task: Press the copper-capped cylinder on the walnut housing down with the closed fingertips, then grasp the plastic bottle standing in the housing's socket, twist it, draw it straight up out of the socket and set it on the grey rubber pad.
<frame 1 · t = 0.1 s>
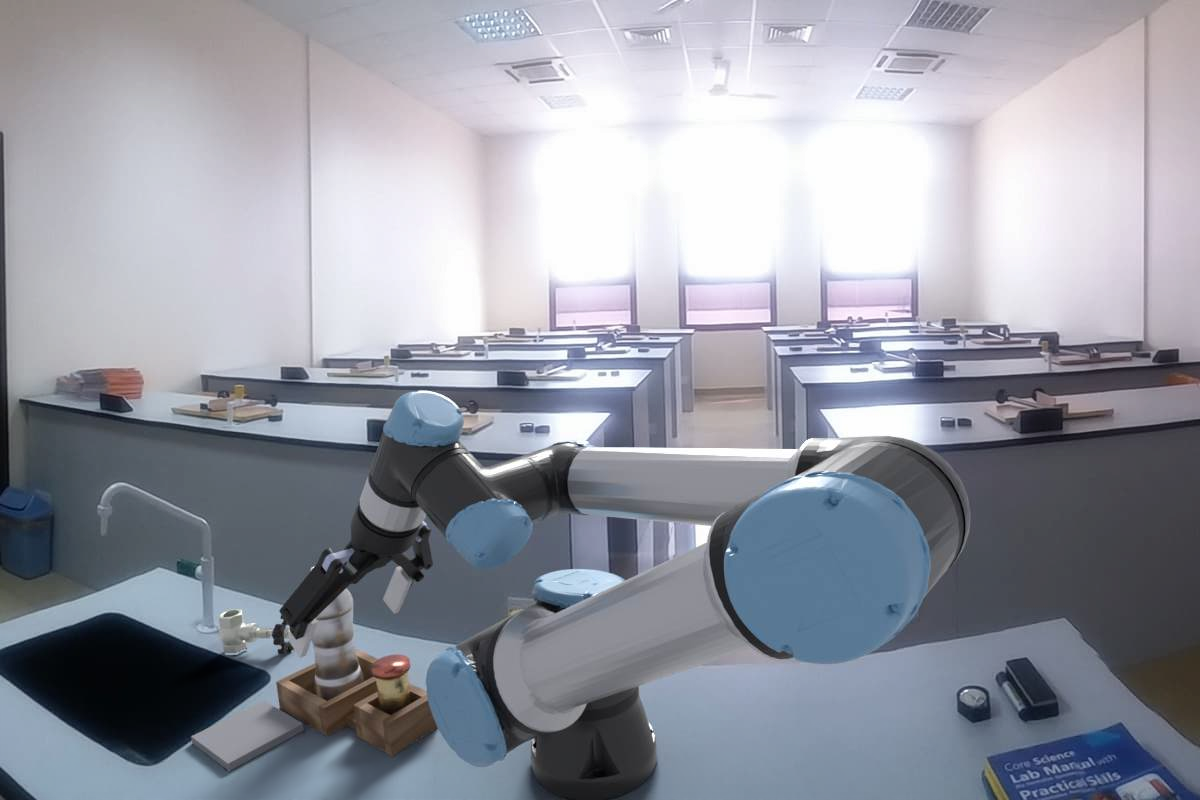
hand: (346, 625, 98), 15 cm above the countertop, tool tilted 35°, fingers open, 13 cm apart
copper-capped cylinder: (393, 687, 100), point 6 cm above the countertop, slide at 0.0 cm
pad: (248, 736, 101), on the countertop
housing: (341, 701, 109), on the countertop
valve: (258, 652, 125), on the countertop
plastic bottle: (341, 702, 109), resting in housing
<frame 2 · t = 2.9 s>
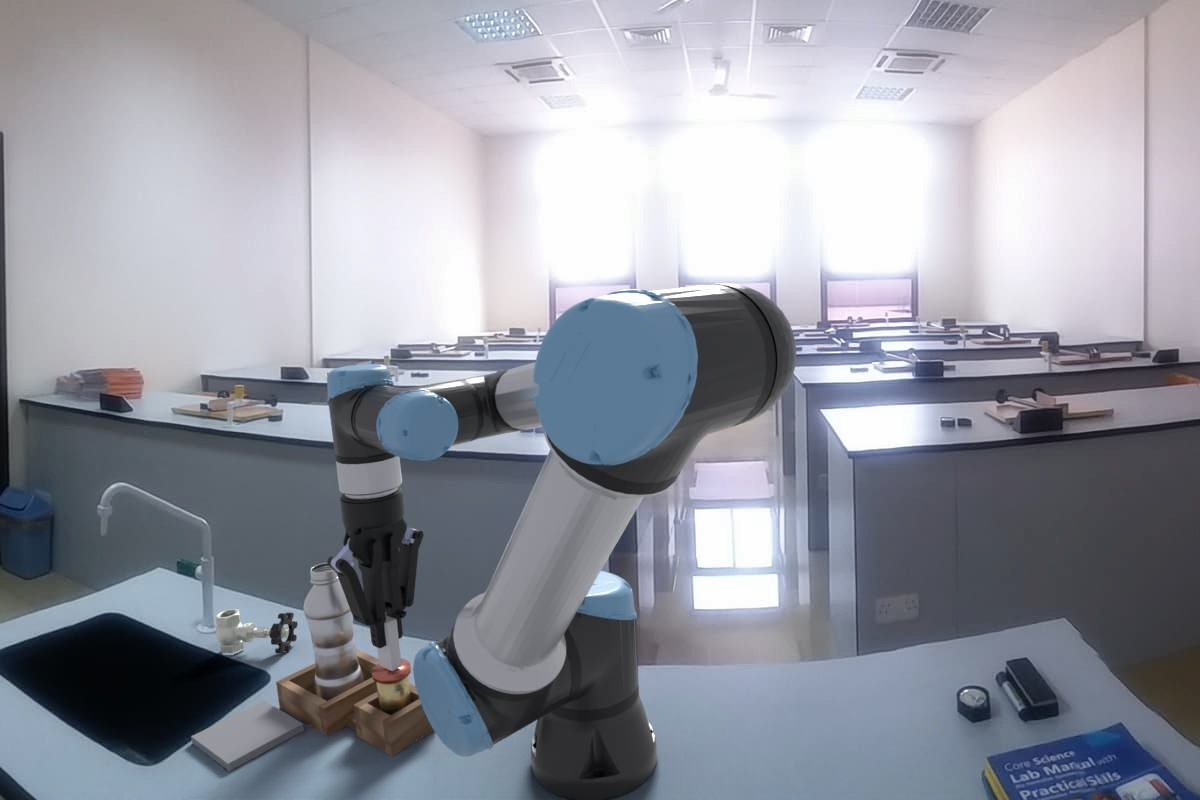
hand: (390, 665, 99), 9 cm above the countertop, tool pointing down, fingers closed
copper-capped cylinder: (393, 691, 100), point 6 cm above the countertop, slide at 0.6 cm, touching gripper
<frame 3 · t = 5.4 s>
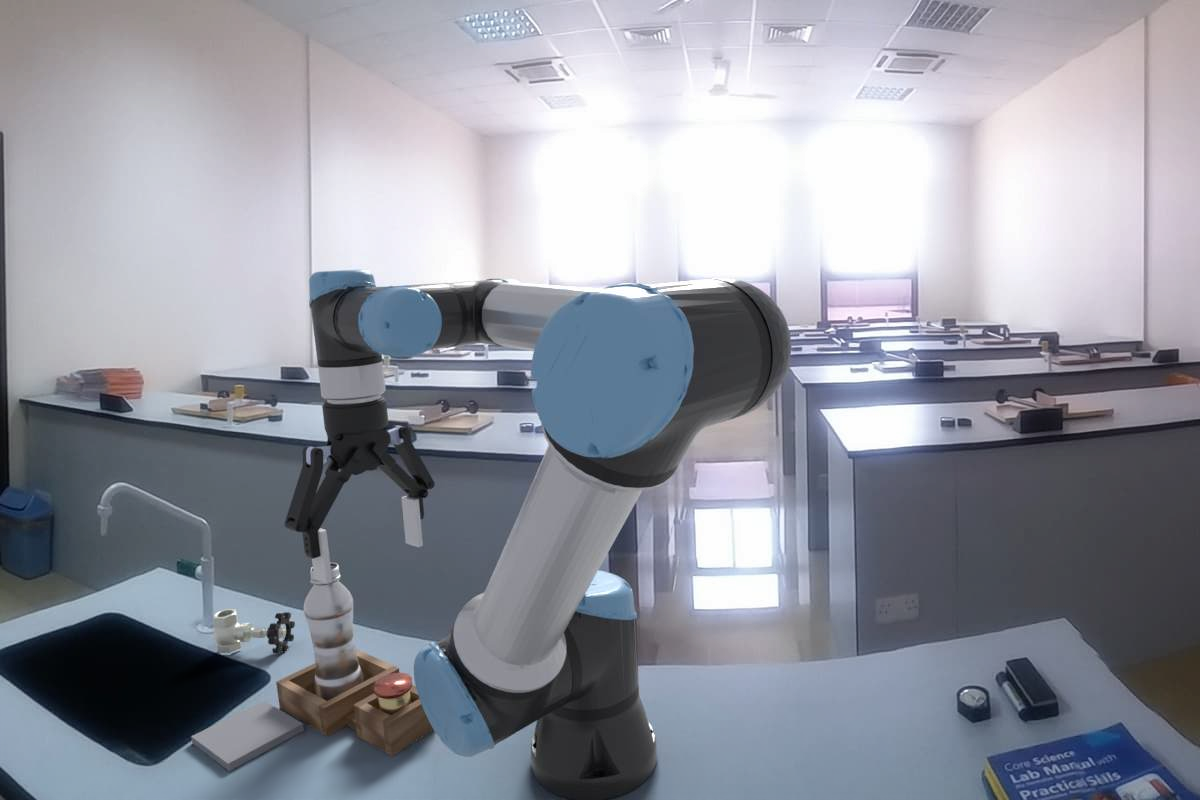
hand: (371, 561, 98), 23 cm above the countertop, tool pointing down, fingers open, 13 cm apart
copper-capped cylinder: (395, 705, 100), point 4 cm above the countertop, slide at 2.6 cm
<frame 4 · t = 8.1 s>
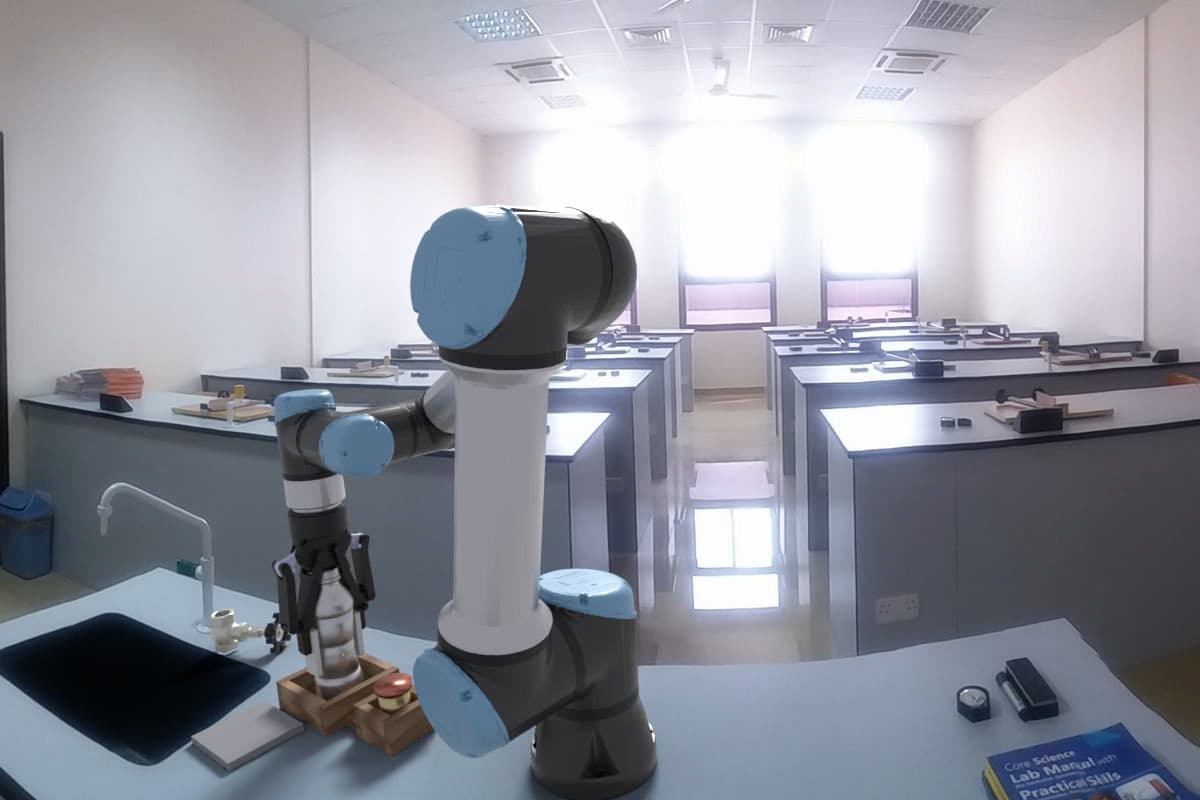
hand: (336, 662, 108), 6 cm above the countertop, tool pointing down, fingers closed on plastic bottle, 6 cm apart
plastic bottle: (341, 702, 109), resting in housing, touching gripper
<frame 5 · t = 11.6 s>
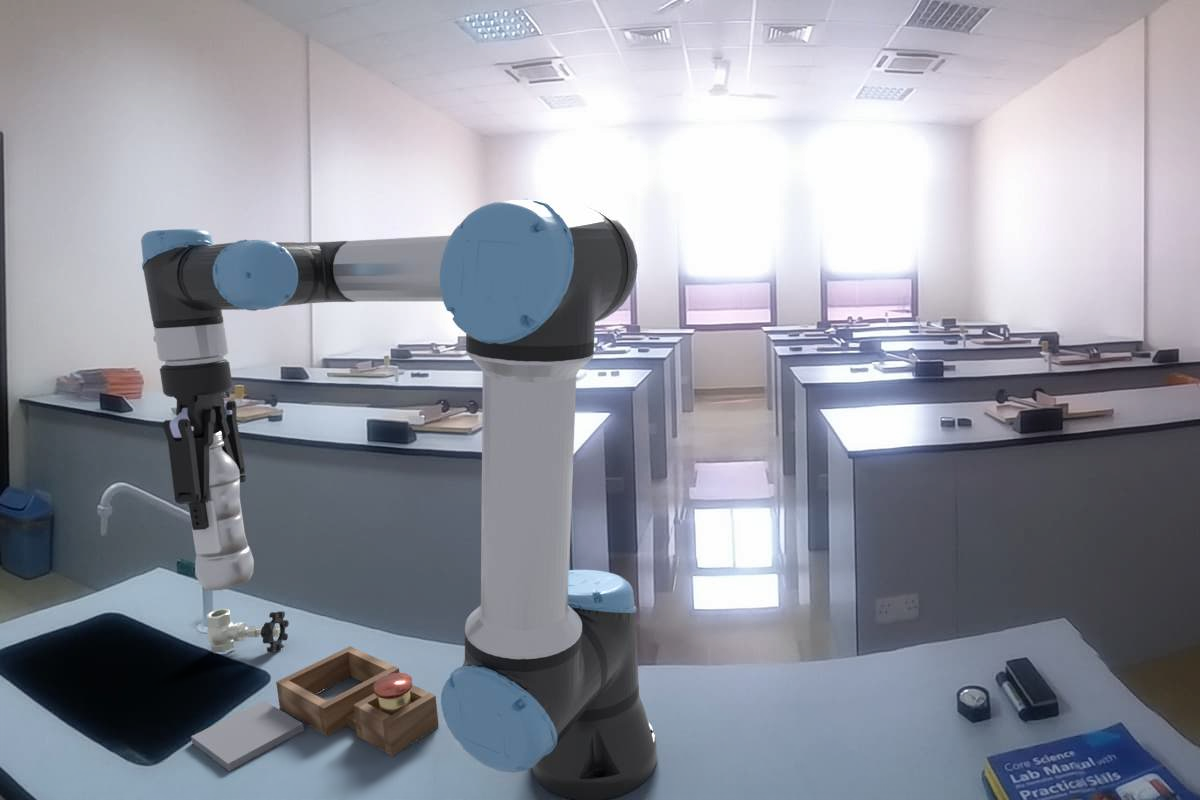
hand: (221, 542, 97), 27 cm above the countertop, tool pointing down, fingers closed on plastic bottle, 6 cm apart
plastic bottle: (228, 587, 98), point 21 cm above the countertop, touching gripper
when the fingers open (8 cm above the countertop, at t = 15.4 s): plastic bottle drops 1 cm, resting on pad.
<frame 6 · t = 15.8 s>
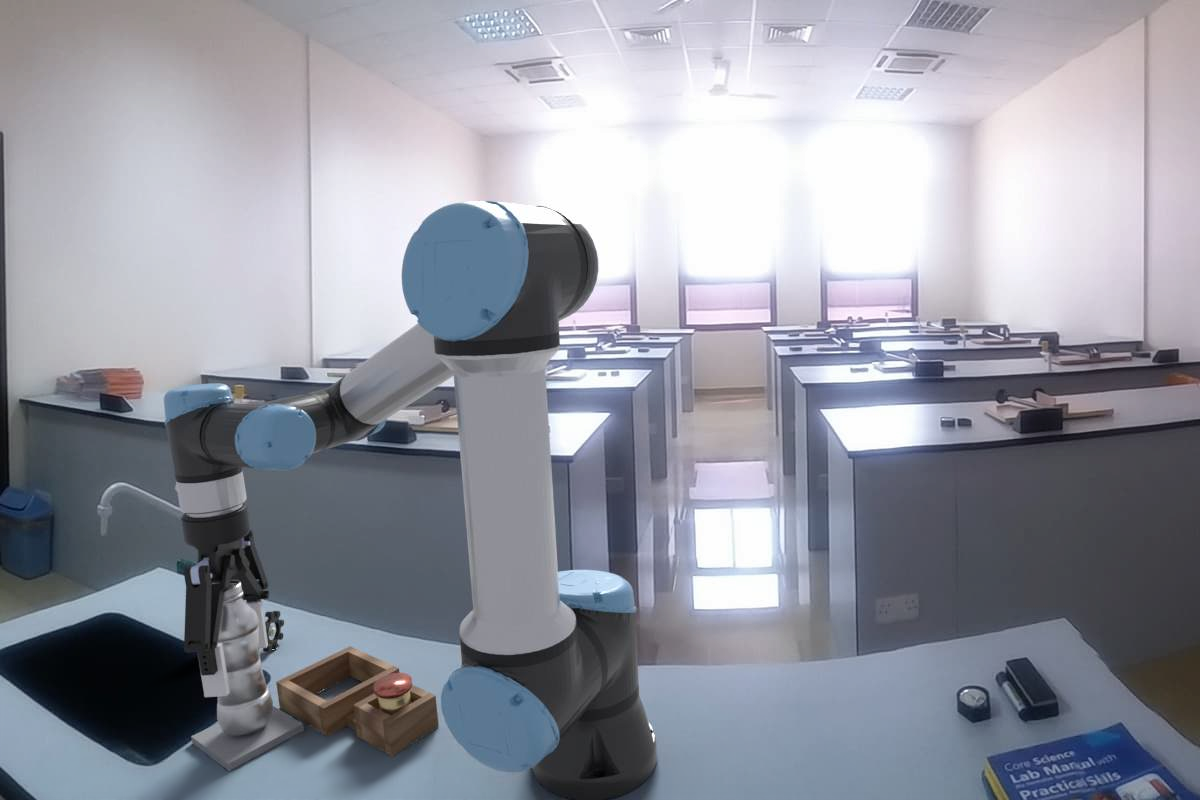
hand: (238, 669, 100), 10 cm above the countertop, tool pointing down, fingers open, 11 cm apart
plastic bottle: (248, 729, 101), point 1 cm above the countertop, touching pad
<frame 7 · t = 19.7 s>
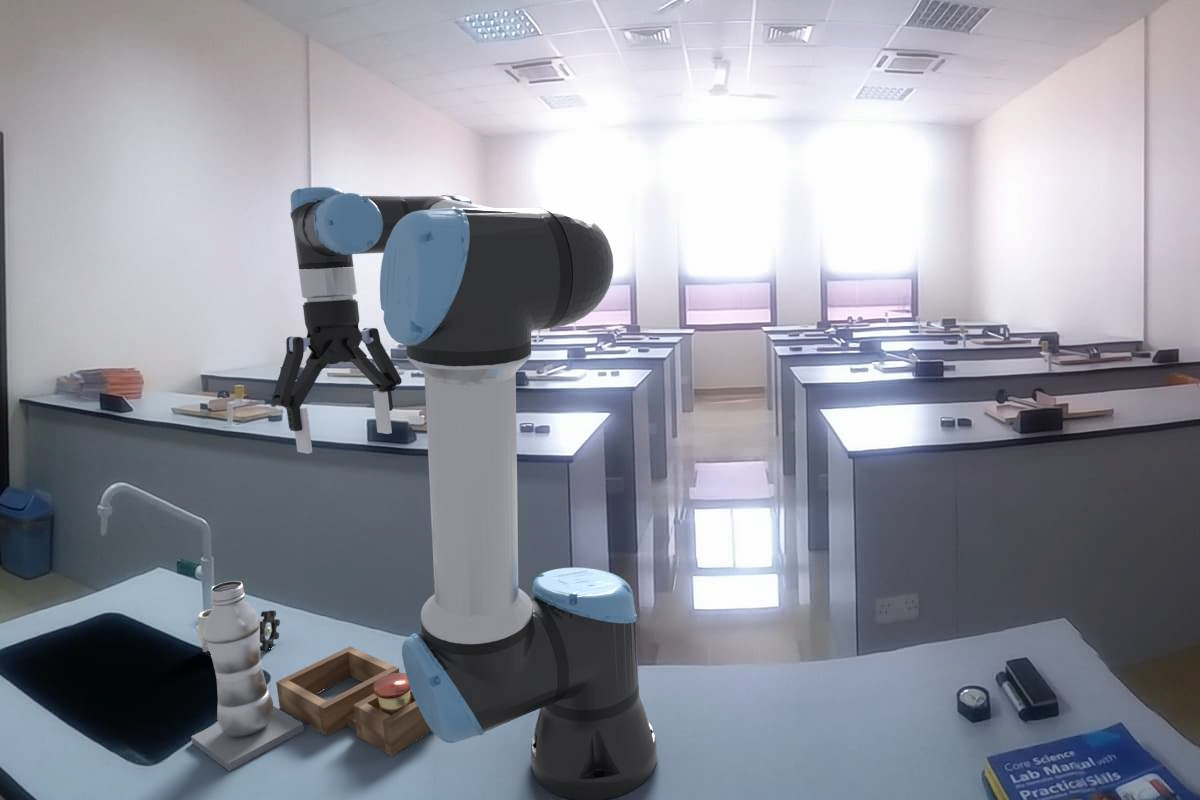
hand: (346, 442, 115), 35 cm above the countertop, tool pointing down, fingers open, 13 cm apart
at the end: copper-capped cylinder slide at 2.6 cm; plastic bottle inside the target area on the pad (0.2 cm from its centre), point 0.8 cm above the pad's base; plastic bottle tilted 0° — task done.
